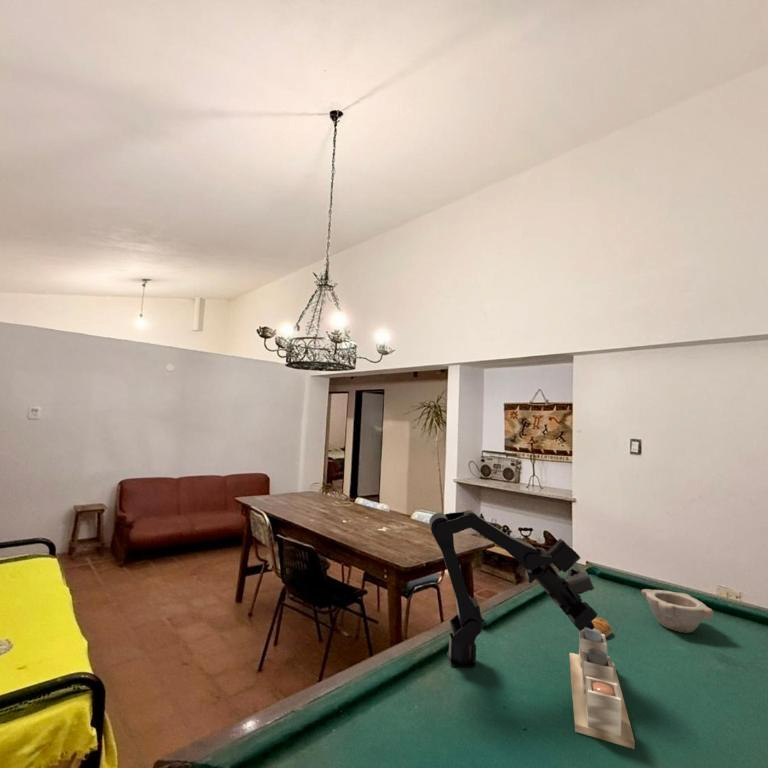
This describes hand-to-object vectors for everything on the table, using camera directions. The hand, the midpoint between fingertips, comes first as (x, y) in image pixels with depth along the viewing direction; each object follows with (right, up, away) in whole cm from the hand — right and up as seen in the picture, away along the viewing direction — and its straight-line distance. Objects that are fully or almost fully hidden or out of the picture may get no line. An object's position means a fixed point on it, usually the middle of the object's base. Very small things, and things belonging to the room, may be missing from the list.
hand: (592, 628), depth 114 cm
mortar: (+42, -16, +28) cm, 52 cm away
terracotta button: (-9, -5, -23) cm, 25 cm away
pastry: (+11, -14, +20) cm, 27 cm away
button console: (-5, -10, -12) cm, 16 cm away
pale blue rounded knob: (0, -5, 0) cm, 5 cm away
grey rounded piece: (-5, -4, -11) cm, 13 cm away
